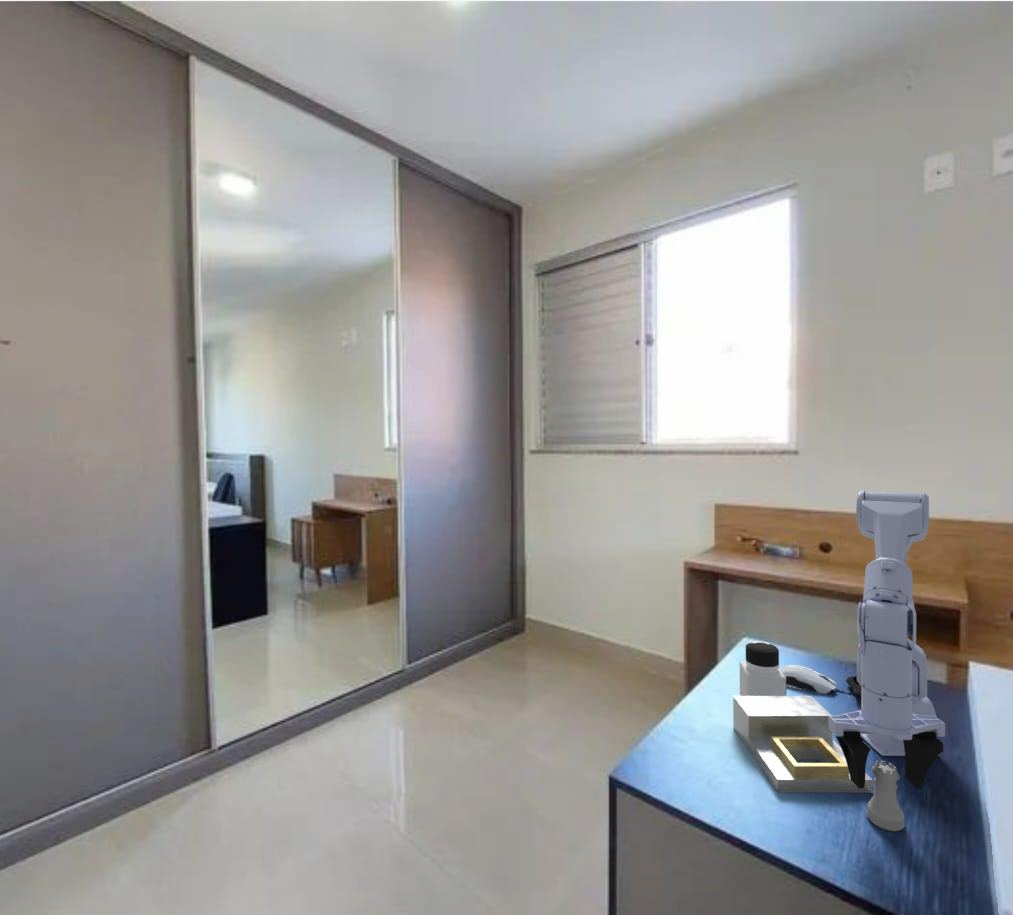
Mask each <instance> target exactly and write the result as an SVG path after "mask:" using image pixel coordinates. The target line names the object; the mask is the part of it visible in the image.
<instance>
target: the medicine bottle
mask: <svg viewBox="0 0 1013 915" xmlns="http://www.w3.org/2000/svg"><path fill="white" fill-rule="evenodd" d="M780 668H781V667H780V650H779V649H778V647H777V645H774V644H772V643H769V642H766V641H761V640H758V641H757V640H755V641H750V642H748V643H746V645H745V660H740V661H739V694H740V695H739V696H787V687H786V677H785V676H784V674H783V673H782V671H781V670H780Z"/></svg>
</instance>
